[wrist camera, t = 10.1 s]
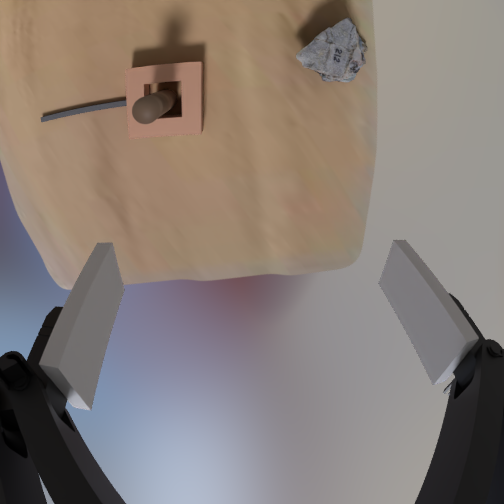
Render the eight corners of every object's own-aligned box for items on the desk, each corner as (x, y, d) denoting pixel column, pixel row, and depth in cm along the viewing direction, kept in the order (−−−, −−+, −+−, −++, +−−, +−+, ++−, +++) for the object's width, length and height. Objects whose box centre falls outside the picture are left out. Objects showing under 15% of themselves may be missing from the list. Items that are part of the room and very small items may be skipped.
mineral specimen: (332, 67, 39) (308, 15, 32) (380, 64, 34) (360, 6, 27) (314, 98, 36) (285, 37, 29) (371, 96, 31) (347, 27, 24)
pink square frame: (131, 69, 33) (125, 69, 30) (202, 62, 33) (201, 61, 31) (135, 134, 38) (129, 139, 36) (202, 130, 39) (201, 134, 37)
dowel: (156, 90, 35) (131, 97, 25) (177, 88, 35) (159, 95, 25) (156, 110, 37) (132, 125, 27) (177, 108, 37) (160, 123, 27)
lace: (42, 116, 34) (40, 117, 33) (132, 99, 35) (131, 99, 35) (43, 121, 34) (41, 122, 34) (133, 104, 36) (131, 105, 35)
